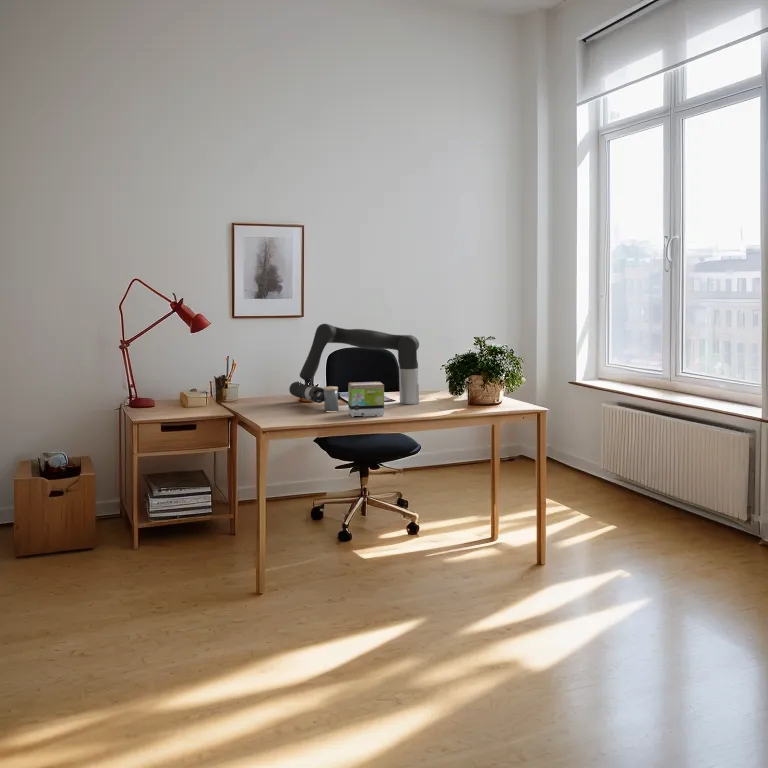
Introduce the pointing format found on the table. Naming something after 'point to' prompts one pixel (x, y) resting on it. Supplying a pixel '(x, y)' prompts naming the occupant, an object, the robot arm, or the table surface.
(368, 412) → the tea box
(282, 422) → the table surface
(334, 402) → the canister
